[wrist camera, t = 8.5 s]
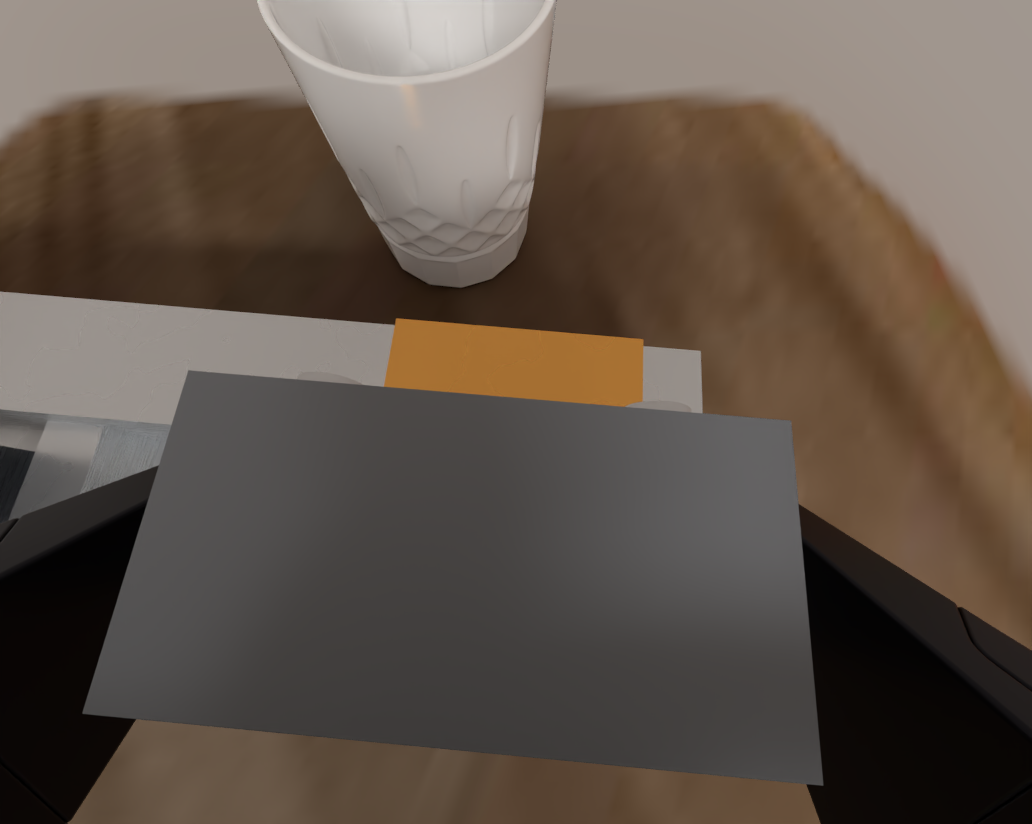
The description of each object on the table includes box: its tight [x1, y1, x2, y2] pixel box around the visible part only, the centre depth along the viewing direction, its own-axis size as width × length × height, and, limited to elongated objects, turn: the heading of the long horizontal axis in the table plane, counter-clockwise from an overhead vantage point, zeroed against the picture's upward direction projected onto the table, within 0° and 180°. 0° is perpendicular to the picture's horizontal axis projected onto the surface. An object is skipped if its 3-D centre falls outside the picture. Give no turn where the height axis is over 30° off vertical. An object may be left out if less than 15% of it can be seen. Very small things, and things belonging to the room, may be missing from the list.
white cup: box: [257, 0, 557, 288], centre depth 16 cm, size 8×8×10 cm
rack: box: [0, 292, 702, 523], centre depth 11 cm, size 10×32×14 cm, turn 85°
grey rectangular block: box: [82, 370, 823, 786], centre depth 10 cm, size 3×6×13 cm, turn 85°
